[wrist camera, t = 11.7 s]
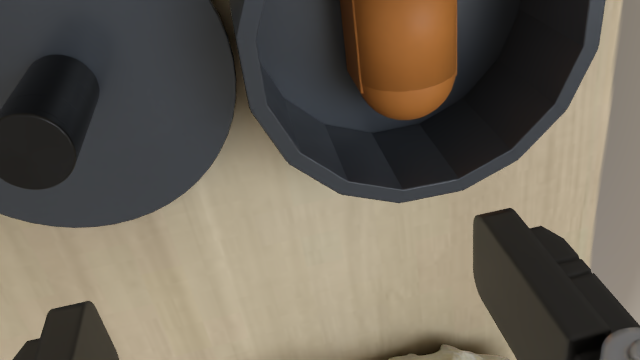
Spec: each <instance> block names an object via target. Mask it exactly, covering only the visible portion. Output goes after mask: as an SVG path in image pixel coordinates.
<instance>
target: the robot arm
mask: <svg viewBox="0 0 640 360" xmlns="http://www.w3.org/2000/svg"><path fill="white" fill-rule="evenodd" d="M473 273H474V279H475V284H476V287H477V290H478V293H479V295H480V297H481V299H482V301H483V303H484V304H485V306H486V308H487V309H488V311H489V313H490V315H491V316H492V318H493V320H494V321H495V323H496V325H497V326H498V328H499V330H500V331H501V333H502V335H503V336H504V338H505V340H506V342H507V343H508V345H509V347H510V348H511V350H512V352H513V353H514V355H515V357H516V358H517V360H640V325H639V324H638V323H637V322H636V321H635V320H634V319H633V317H632V316H631V315H630V314H629V313H628V312H627V311H626V309H625V308H624V307H623V306H622V305H621V304H620V303H619V302H618V300H617V299H616V298H615V297H614V296H613V295H612V293H611V292H610V291H609V290H608V289H607V288H606V287H605V286H604V284H603V283H602V282H601V281H600V280H599V279H598V277H597V276H596V275H595V274H594V273H593V274H592V273H591V269H590V268H589V267H588V266H587V265H586V264H585V262H584V261H583V260H582V259H579V256H578V254H577V253H576V252H575V251H574V250H573V249H572V248H571V246H570V245H569V244H568V243H567V242H566V241H565V240H564V239H563V238H562V237H560V236H558V235H556V234H555V233H553V232H551V231H549V230H548V229H546V228H544V227H542V226H539V227H534V228H530V229H529V228H528V226H527V225H526V224H525V223H524V222H523V220H522V219H521V218H520V217H519V215H518V214H517V213H516V212H515V211H514V210H513V209H511V208H508V209H503V210H499V211H494V212H490V213H485V214H481V215H477V216H475V218H474V222H473ZM13 360H119V358H118V354H117V352H116V349H115V347H114V345H113V343H112V341H111V339H110V337H109V335H108V332H107V330H106V328H105V326H104V324H103V322H102V320H101V318H100V316H99V314H98V311H97V309H96V307H95V306H94V304H93V303H92V302H90V301H86V302H82V303H77V304H73V305H68V306H64V307H59V308H55V309H51V310H50V311H49V312H48V314H47V317H46V320H45V324H44V327H43V330H42V334H41V337H40V338H39V339H35V340H30V341H27V342H26V343H25V344H24V346H23V347H22V348H21V350H20V351H19V352H18V353H17V355H16V356H15V357H14V359H13Z"/></svg>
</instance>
